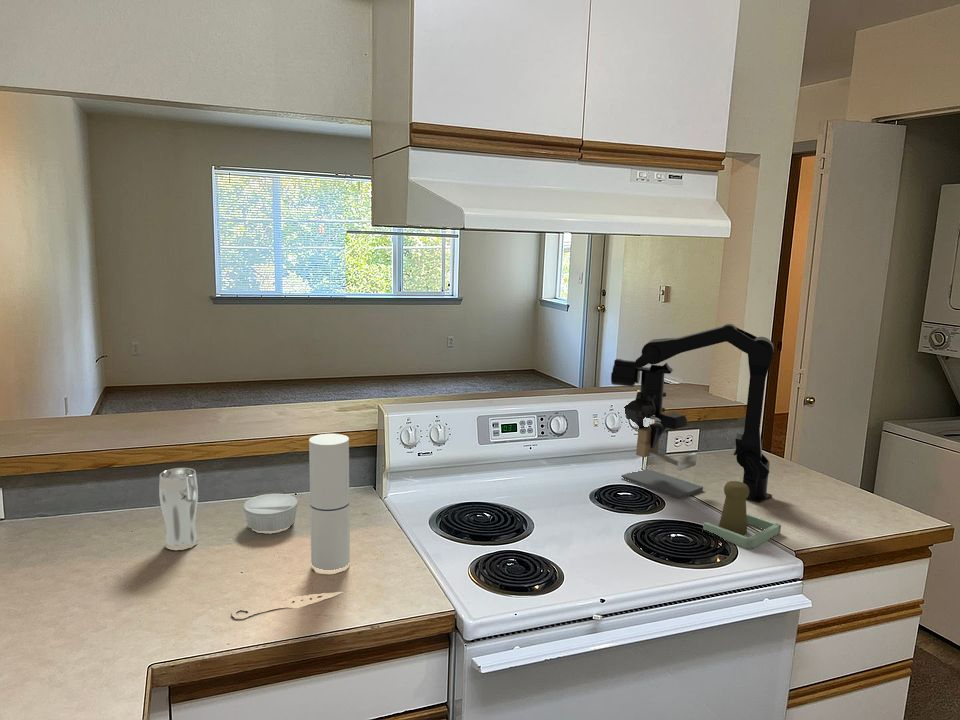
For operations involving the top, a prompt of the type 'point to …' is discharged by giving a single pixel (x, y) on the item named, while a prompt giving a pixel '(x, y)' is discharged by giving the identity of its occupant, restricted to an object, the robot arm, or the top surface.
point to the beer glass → (179, 505)
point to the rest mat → (663, 483)
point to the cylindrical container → (329, 501)
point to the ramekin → (270, 512)
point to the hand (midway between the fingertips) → (647, 446)
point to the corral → (744, 541)
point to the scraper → (646, 450)
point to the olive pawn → (735, 507)
